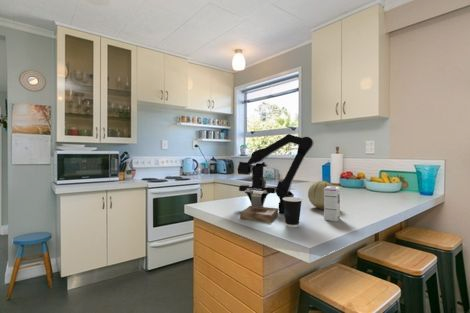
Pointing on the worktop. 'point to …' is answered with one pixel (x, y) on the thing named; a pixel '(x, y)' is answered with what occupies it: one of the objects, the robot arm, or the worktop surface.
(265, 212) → the socket block
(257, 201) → the plug
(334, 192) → the syrup box
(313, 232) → the worktop surface
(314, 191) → the cantaloupe
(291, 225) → the dixie cup
